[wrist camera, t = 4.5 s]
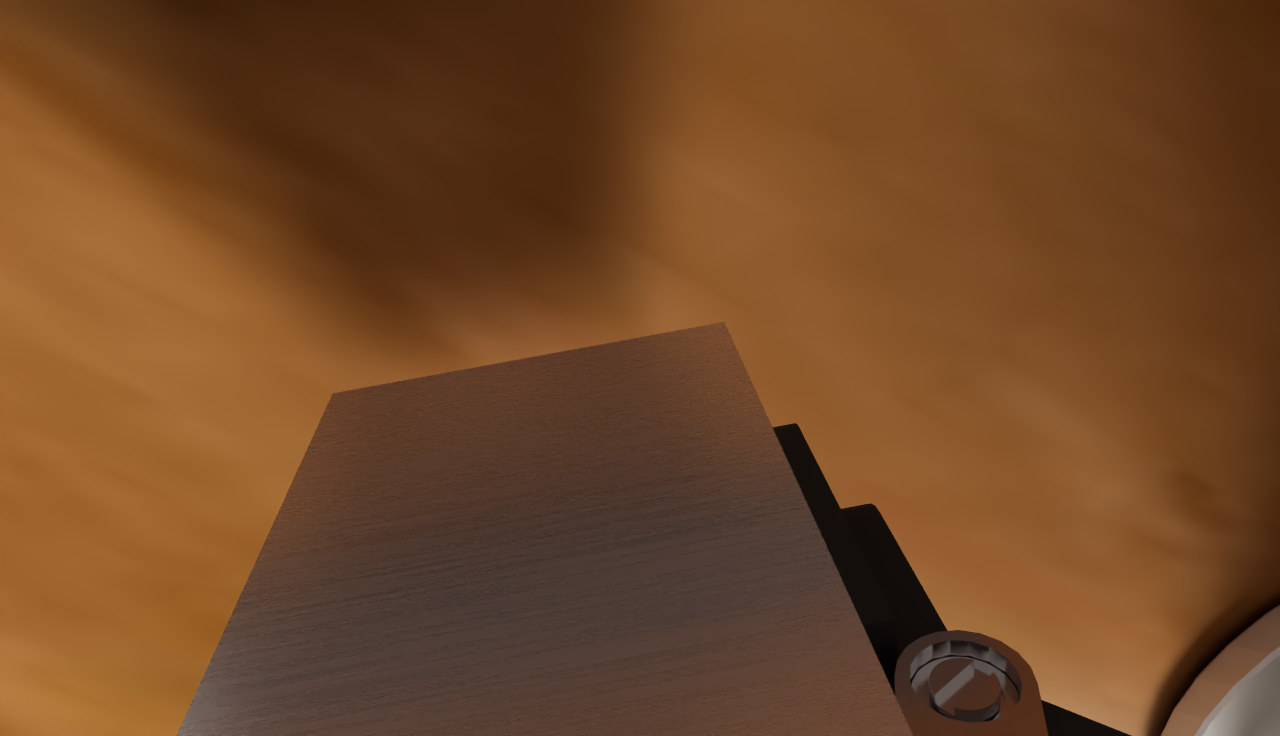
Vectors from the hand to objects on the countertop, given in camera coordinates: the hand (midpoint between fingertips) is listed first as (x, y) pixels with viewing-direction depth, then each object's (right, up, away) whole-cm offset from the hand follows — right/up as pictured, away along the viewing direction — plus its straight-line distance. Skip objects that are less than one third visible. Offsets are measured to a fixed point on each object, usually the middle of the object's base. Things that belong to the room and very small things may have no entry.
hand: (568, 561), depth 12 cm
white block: (0, 0, +1) cm, 1 cm away
